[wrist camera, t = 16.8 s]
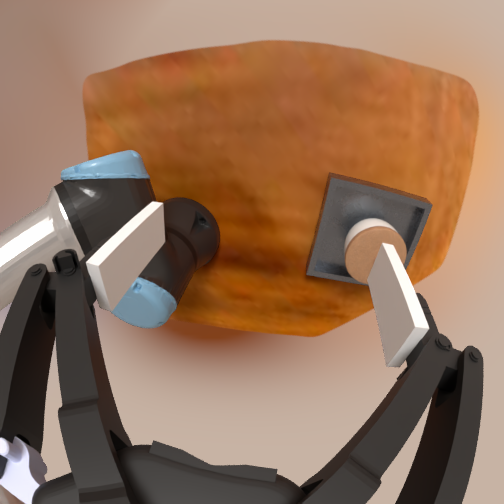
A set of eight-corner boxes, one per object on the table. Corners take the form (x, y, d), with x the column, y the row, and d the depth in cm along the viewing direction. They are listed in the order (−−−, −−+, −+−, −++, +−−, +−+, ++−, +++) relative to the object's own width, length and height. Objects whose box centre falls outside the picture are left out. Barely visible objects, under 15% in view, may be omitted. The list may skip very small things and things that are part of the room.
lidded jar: (404, 224, 44) (422, 251, 36) (374, 267, 50) (384, 298, 42) (358, 198, 44) (370, 222, 36) (329, 246, 49) (333, 276, 42)
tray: (306, 265, 54) (306, 274, 51) (329, 172, 43) (331, 177, 41) (392, 281, 52) (395, 290, 50) (426, 198, 42) (432, 204, 39)
